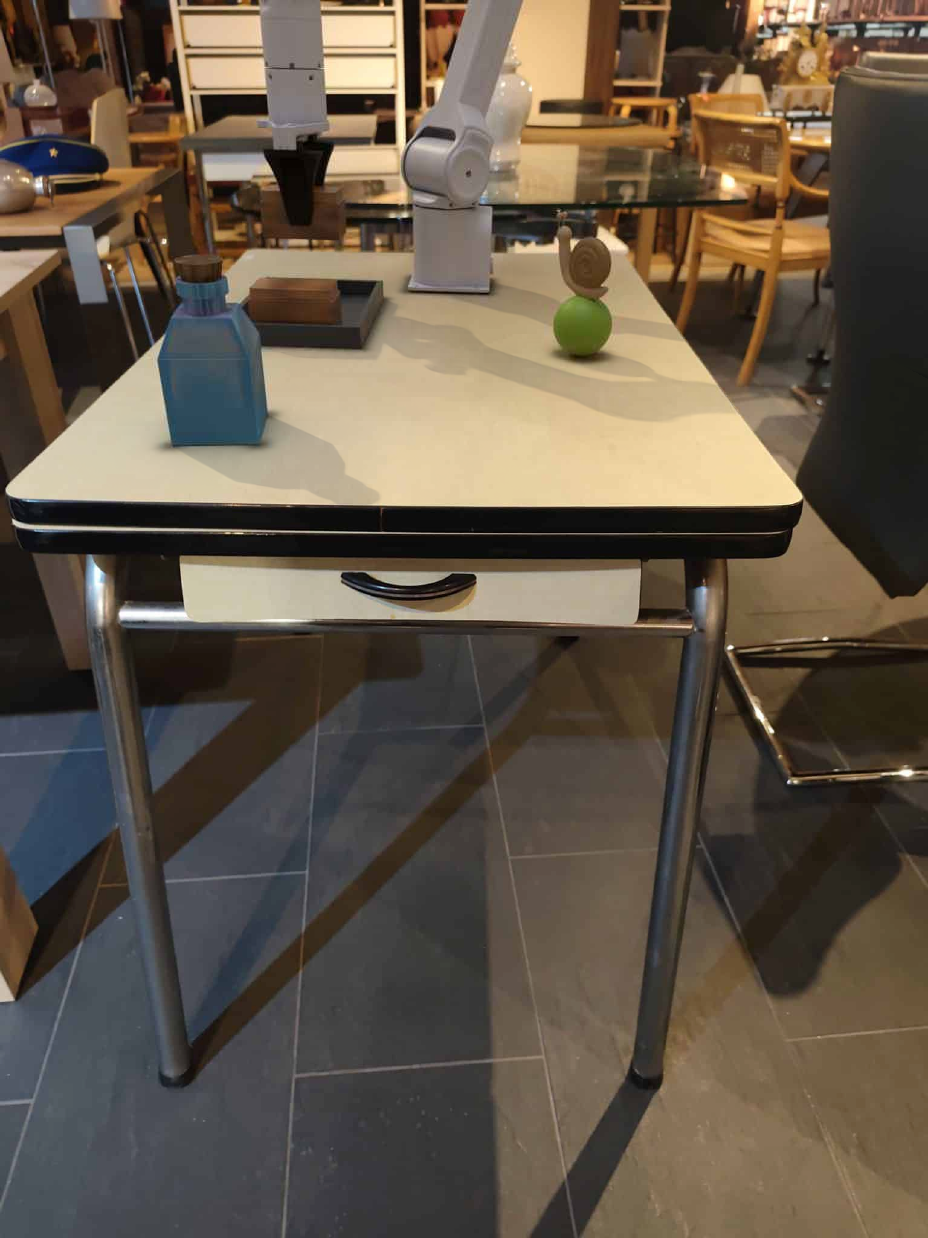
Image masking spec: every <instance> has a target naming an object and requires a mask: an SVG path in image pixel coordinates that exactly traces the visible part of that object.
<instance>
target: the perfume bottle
mask: <svg viewBox="0 0 928 1238" xmlns="http://www.w3.org/2000/svg"><path fill="white" fill-rule="evenodd" d="M223 262H224V258H223V257H222V256H219V255H215V254H188V255H183V256H179V257H176V258H175V259H174V263H175V266H176V270H177V272H178V276H177V277H175V279H174V281H175V288H176V295H177V296H179V297H180V298H182V302H181V303H180V304H179V306H177V308H176V310H175V311H174V312H173V314H172V315H171V317H170V318H169V319H170V320H169V322H168V326H167V328H166V331H165V334H164V337H163V340H162V344H161V346H160V350H159V352H158V354H157V355H158V356H157V359H156V362H157V368H158V374H159V379H160V384H161V385H160V386H161V390H162V397H163V402H164V403H163V404H164V409H165V414H166V420H167V426H168V432H169V438H170V443H171V446H174V447H175V446H243V445H244V446H245V445H246V446H248V445H249V446H250V445H251V446H253V445H257V446H259V445H260V444H261V440H262V438H263V437H262V436H263V433H264V430H265V425H266V423H267V418H268V415H269V411H268V401H267V393H266V392H267V391H266V382H265V373H264V362H263V353H262V352H263V351H262V345H261V343H260V334H259V332H258V331H257V329H256V328H255V326H254V325H253V323H252V322H251V320H250V319H249V317H248V316H247V315H246V313H245V312H244V310H243V309H242V307H241V306H240V302H227V301H226V295H228V294H229V292H230V291H229V282H228V276H226V275H225V274H223Z"/></svg>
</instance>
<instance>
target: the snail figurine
mask: <svg viewBox="0 0 928 1238" xmlns="http://www.w3.org/2000/svg"><path fill="white" fill-rule="evenodd" d="M567 217H568V212H567V211H562V212H557V214H556V218H557V219H558V221H561V220H562V219H563V220H562V226H560V222H558V224H557V225H558V229H557V231H556V239H557V241H558V260H559V268H560V272H561V275H562V280H563V282H564V283H565V285H566V286H567V288H569V290H571V291H572V292H573V293H574V295H573V296H571V297H568V298H567V299H566V300H564V302H562V303H561V305H560V306H559V307H558V309H557V310H556V311H555V314H554V317H553V323H552V330H553V331H552V332H553V335H554V338H555V340H556V342H557V344H558V345H559V346H560V347H561V348H562V350H564V351H565V352H567V353H568V354H571V355H574V356H578V357H584V356H589V355H592V354H594V353H596V352H598V351H600V350H601V349H602V348H604V346H605V345H606V343H607V342H608V340H609V338H610V336H611V334H612V327H613V319H612V314H611V312H610V309H609V307H608V306H607V305H606V303H605V302H604V301H602V300H601V298H602V297H604V296H605V295H606V294H607V293H608V292H609V290H610V287H608V286H602V284H604V283H605V282H606V281H607V280H608V278H609V276H610V274H611V270H612V256H611V252H610V250H609V248H608V246H607V245H606V244H605V242H604V241H602V240H601V239H600V238H598V237H594V236H588V237H584V238H581V239H580V240H578V241H577V242H576V243H575V244H574V247H573V248H572V246H571V240H572V236H573V232H572V230H571V228H570V227H569V226H567V225H565V219H566V218H567Z"/></svg>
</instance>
